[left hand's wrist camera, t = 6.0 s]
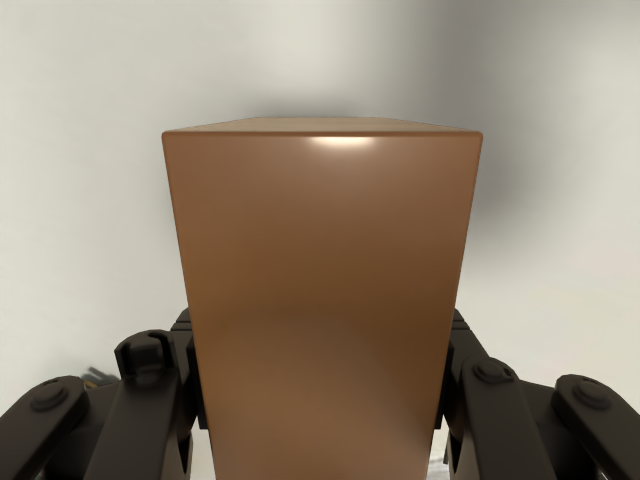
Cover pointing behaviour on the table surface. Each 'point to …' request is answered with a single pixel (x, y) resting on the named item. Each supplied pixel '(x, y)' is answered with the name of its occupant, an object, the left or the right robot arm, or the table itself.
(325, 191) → the post
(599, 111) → the table surface
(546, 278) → the table surface
